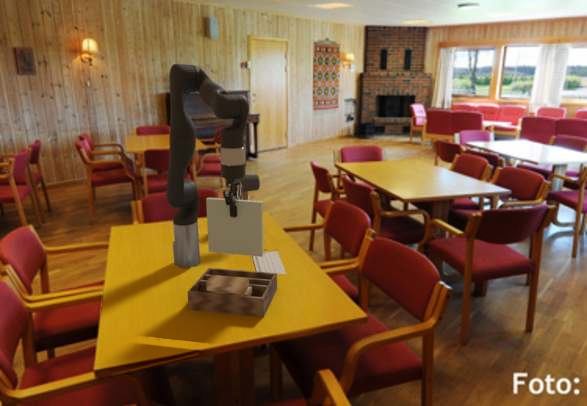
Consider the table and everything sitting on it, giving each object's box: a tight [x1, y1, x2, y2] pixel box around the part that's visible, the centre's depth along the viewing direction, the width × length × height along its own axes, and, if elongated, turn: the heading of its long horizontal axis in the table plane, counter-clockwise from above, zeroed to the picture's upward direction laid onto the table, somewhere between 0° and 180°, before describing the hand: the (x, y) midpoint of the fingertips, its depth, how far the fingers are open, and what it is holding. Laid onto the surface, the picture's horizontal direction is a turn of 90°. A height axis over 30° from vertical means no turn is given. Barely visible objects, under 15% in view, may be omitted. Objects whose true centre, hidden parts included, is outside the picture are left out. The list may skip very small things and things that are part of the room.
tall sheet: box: [205, 197, 264, 257], centre depth 139 cm, size 18×2×18 cm, turn 79°
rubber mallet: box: [241, 174, 261, 200], centre depth 194 cm, size 12×8×30 cm, turn 105°
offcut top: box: [206, 275, 249, 294], centre depth 135 cm, size 12×5×3 cm, turn 79°
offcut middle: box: [210, 287, 252, 296], centre depth 136 cm, size 12×5×3 cm, turn 79°
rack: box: [187, 267, 278, 318], centre depth 141 cm, size 24×18×8 cm
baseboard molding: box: [252, 248, 288, 275], centre depth 167 cm, size 31×3×12 cm
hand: (234, 215), depth 138 cm, fingers closed on tall sheet, 1 cm apart
